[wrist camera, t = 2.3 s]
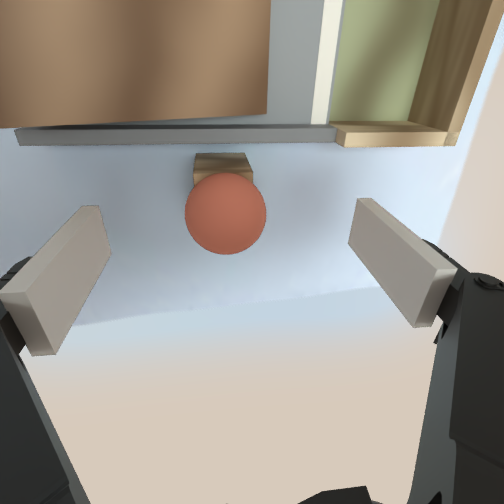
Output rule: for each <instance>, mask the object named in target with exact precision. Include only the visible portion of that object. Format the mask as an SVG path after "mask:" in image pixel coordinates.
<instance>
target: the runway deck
mask: <svg viewBox="0 0 504 504" xmlns="http://www.w3.org/2000/svg"><path fill="white" fill-rule="evenodd" d="M345 3H346V0H271V15H270V41H269V67H268V93H267V114H262V115H243V116H224V117H206V118H187V119H168V120H150V121H131V122H112V123H94V124H75V125H56V126H38V127H22V128H19V129H16V130H14V132H15V135H16V138H17V140H18V143H19V145H20V146H41V145H131V144H221V143H311V142H335V141H336V135H337V129H338V128H336V127H334V126H332V125H330V124H329V117H330V110H331V103H332V96H333V88H334V81H335V74H336V67H337V60H338V53H339V46H340V39H341V32H342V25H343V18H344V10H345Z"/></svg>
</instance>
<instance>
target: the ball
mask: <svg viewBox="0 0 504 504" xmlns="http://www.w3.org/2000/svg"><path fill="white" fill-rule="evenodd" d="M185 221H186V225H187V228H188V230H189V232H190V234H191V236H192V237H193V239H194V240H195V241H196V242H197V243H198V244H199V245H200V246H202V247H203V248H205V249H206V250H208V251H210V252H213V253H217V254H235V253H238V252H241V251H243V250H245V249H247V248H249V247H250V246H251V245H253V243H254V242H255V241H256V240H257V239H258V238H259V237H260V235H261V233H262V231H263V228H264V226H265V222H266V207H265V203H264V199H263V197H262V195H261V193H260V192H259V190H258V189H257V188H256V186H255V185H254V184H253V183H251V182H250V181H249V180H247V179H246V178H244V177H242V176H240V175H237V174H233V173H217V174H213V175H210V176H208V177H206V178H204V179H203V180H201V181H200V182H199V183H198V184H197V185H196V186H195V187H194V188H193V189H192V191H191V192H190V194H189V196H188V199H187V201H186V205H185Z"/></svg>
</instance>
